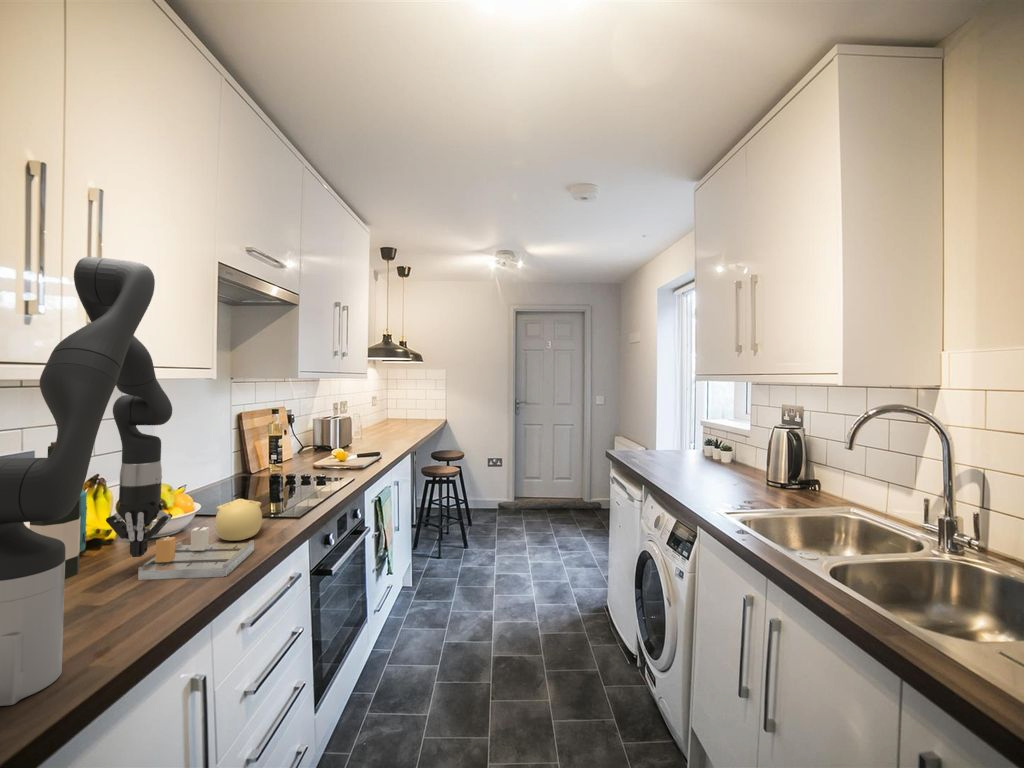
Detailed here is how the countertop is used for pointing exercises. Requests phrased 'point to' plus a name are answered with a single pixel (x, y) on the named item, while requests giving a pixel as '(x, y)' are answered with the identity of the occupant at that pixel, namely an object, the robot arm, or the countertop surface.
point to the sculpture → (238, 519)
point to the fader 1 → (165, 549)
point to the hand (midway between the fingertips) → (138, 555)
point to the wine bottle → (64, 533)
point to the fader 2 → (199, 538)
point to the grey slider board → (198, 562)
